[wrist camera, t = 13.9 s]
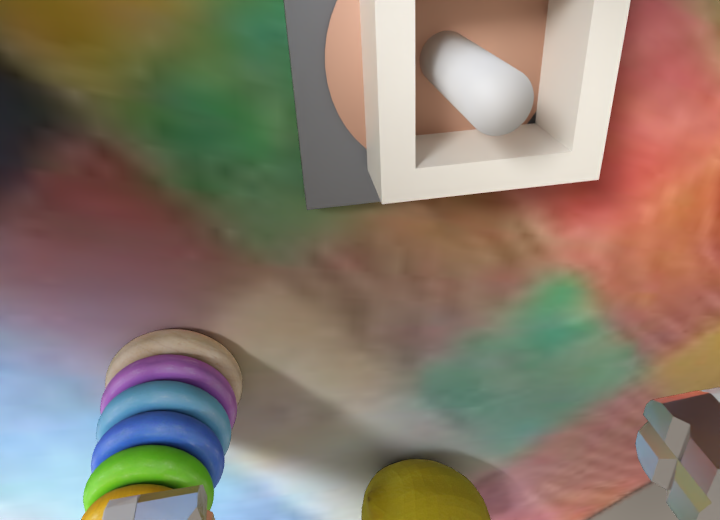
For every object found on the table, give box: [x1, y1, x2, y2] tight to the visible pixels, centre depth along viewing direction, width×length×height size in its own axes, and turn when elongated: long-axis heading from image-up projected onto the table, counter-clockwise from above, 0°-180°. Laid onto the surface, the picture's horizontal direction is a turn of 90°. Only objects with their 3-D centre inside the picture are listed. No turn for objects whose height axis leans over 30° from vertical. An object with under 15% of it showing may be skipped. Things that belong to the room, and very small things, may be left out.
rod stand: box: [283, 0, 549, 210], centre depth 24 cm, size 14×14×9 cm
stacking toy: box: [81, 329, 243, 520], centre depth 28 cm, size 8×8×19 cm
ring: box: [359, 0, 631, 204], centre depth 25 cm, size 10×10×4 cm
